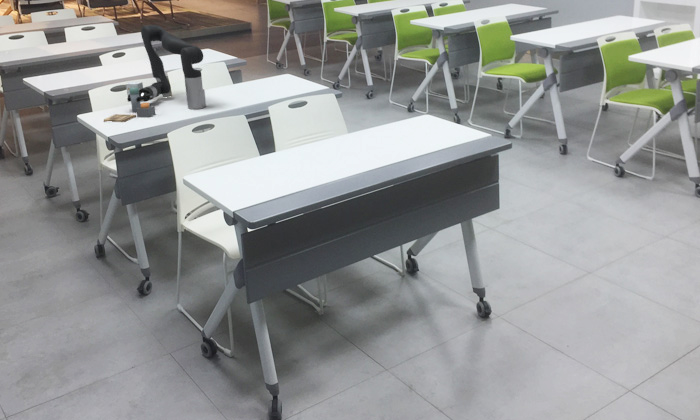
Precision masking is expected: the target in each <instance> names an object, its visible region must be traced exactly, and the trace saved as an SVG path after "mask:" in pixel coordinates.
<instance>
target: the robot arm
mask: <svg viewBox="0 0 700 420" xmlns="http://www.w3.org/2000/svg"><path fill="white" fill-rule="evenodd" d="M140 34H141V39H142V42H143V45H144V47H145V51H146V54H147V57H148V60H149V63H150V69H151V73H152V77H153V78H155V79H159V80H160V81H157V82H153V83H151V85H147V86H145V87H144V86H143V88H142V89H140V90H139V97H137V102H139V101H140V102H143V103H147V102H149V101H151V100H153V99H155V98H157V97H159V96H160V95H163V94H164V95H165V94H168V93H170V92H171V88H172V87H171V84H170V81H169V80H168V77H167V75H166V73H165V67H164V63H163V61H162V59H161V57H160V56H159V54H158V53H157V52H156V50H155V49H154V47H153V45H152V43H153V42H161V46H162V47H163V48H164V50H166V51H167V52H169V53H171V54H174V55H180V61H181V62H180V63H181V67H182V72H183V77H184V84H185V85H184V86H185V93H186V103H187V109H189V110H199V109H204V108H206V107H207V102H206V92H205V89H204V87H203V78H202V71H201V70H199V69H195V68H194V67H193V65H195V64H200V63H202V62H203V59H204V53H203V50H202V49H201V48H200V47H199V46H196V45H194V44H191V43H188V42H187V41H184V40H182V39H181V38H180V37H177V36H176V35H174V34H172V33H171V32H168V31H166V30H165V29H164V28H162V27H161V26H160V25H157V24H146V25H143V26H142V27H141V29H140ZM127 102H130V103H131V98H130V94H129V95H127Z"/></svg>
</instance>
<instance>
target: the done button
mask: <svg viewBox="0 0 700 420" xmlns="http://www.w3.org/2000/svg"><path fill="white" fill-rule="evenodd" d="M140 104H141V108H149V106H150V103H149V102H142V103H141V102H140Z"/></svg>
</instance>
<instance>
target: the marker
mask: <svg viewBox="0 0 700 420" xmlns="http://www.w3.org/2000/svg"><path fill="white" fill-rule="evenodd" d="M129 92H130V98H131V101H130V103H131V110H132V111H133V112H132V113H137V111H136V108H139V107H141V101H139V102H137V97H139V88H138V87H131V88H129Z"/></svg>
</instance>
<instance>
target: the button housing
mask: <svg viewBox="0 0 700 420" xmlns="http://www.w3.org/2000/svg"><path fill="white" fill-rule="evenodd" d="M136 111H137V112H136V117H137V118H151V117H153V116H154V115H156V106H155V105H149V108H141V107H139V108H136Z"/></svg>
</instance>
